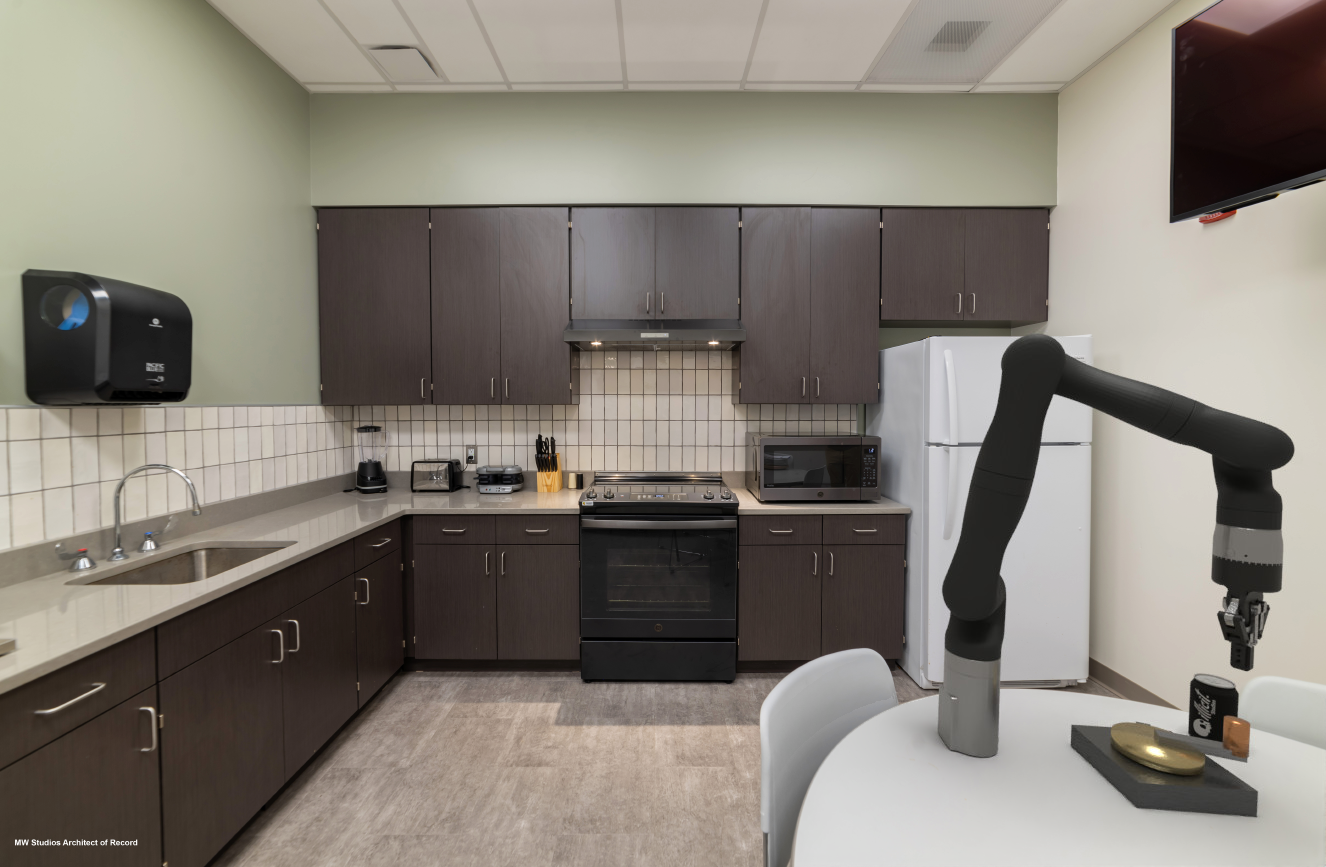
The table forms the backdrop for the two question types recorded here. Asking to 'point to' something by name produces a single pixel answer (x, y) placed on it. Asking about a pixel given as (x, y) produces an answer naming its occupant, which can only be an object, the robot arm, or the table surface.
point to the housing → (1164, 779)
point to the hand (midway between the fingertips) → (1241, 668)
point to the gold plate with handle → (1180, 746)
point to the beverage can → (1211, 705)
